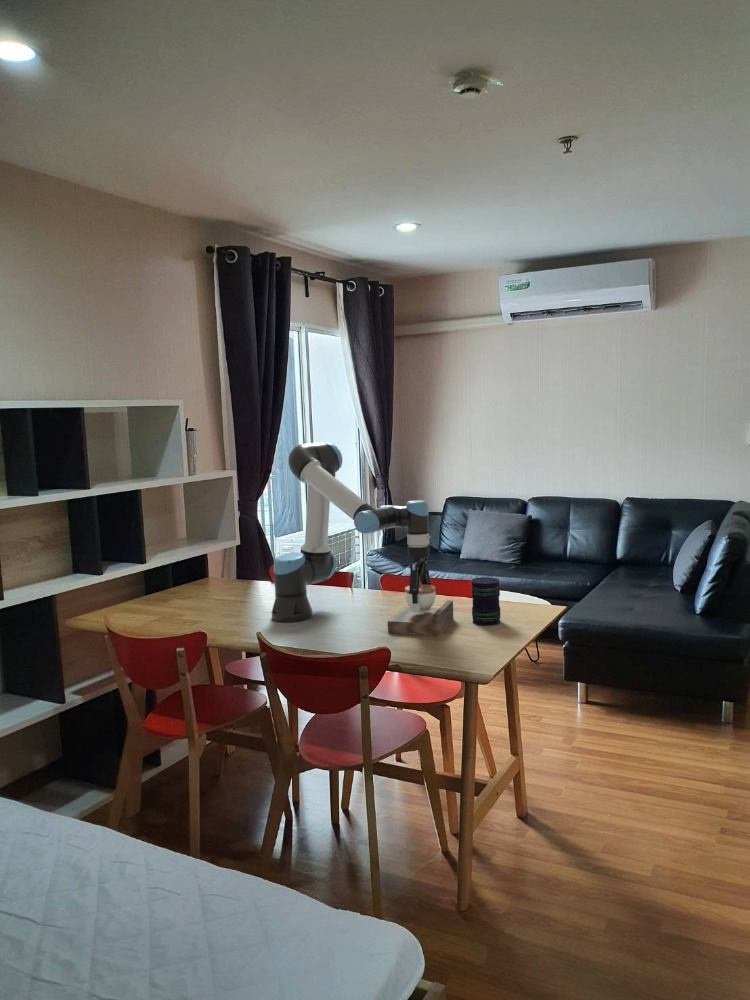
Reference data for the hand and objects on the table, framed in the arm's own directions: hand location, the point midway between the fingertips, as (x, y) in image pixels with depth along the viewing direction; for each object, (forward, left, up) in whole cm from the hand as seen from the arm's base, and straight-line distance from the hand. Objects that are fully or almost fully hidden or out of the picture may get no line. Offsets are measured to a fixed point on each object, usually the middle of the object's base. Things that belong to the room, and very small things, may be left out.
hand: (420, 608), depth 267 cm
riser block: (0, 0, -6) cm, 6 cm away
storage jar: (+21, +9, -7) cm, 24 cm away
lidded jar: (0, 0, -1) cm, 1 cm away
